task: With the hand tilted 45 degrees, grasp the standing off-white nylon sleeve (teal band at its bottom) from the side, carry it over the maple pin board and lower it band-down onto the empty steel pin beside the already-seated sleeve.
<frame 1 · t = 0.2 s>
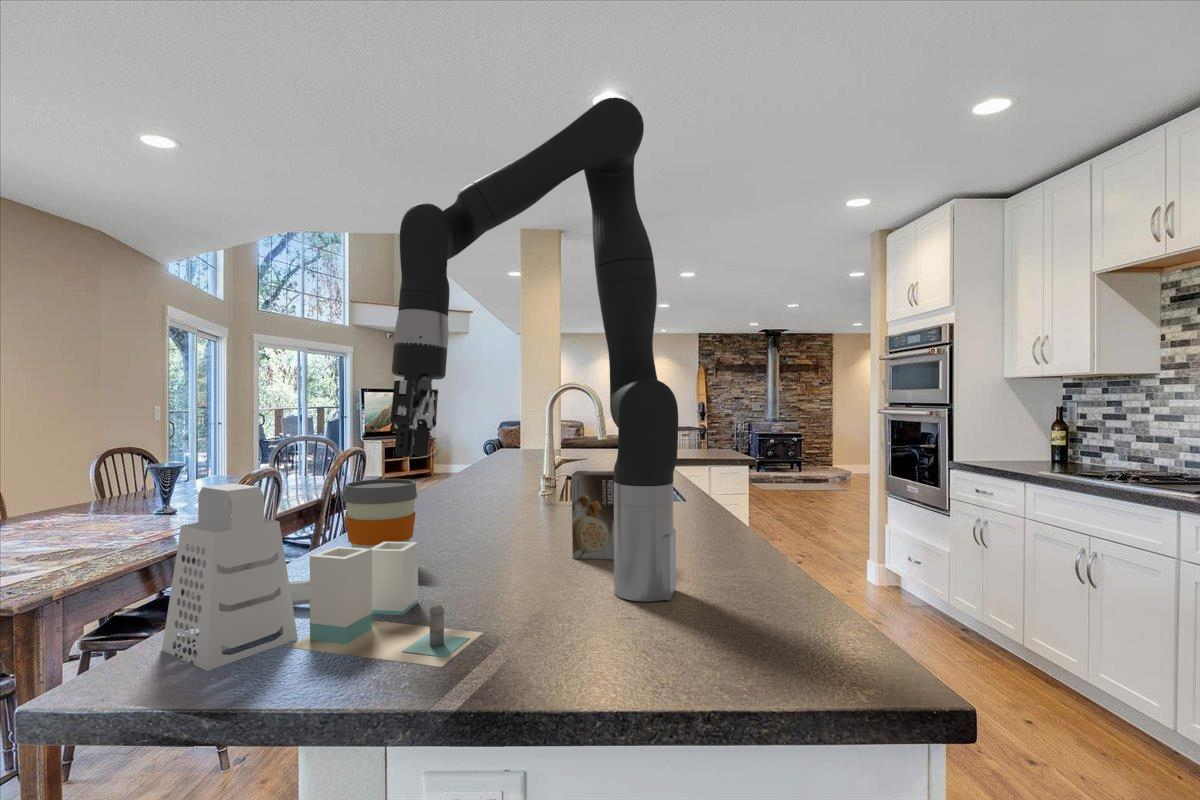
hand: (412, 456, 89), 22 cm above the countertop, tool pointing down, fingers open, 8 cm apart
reusable coffee cup: (381, 567, 112), on the countertop
coffee box: (597, 556, 119), on the countertop
electric toothbrush: (269, 620, 86), on the countertop
sleeve: (393, 618, 85), on the countertop
seated sleeve: (341, 634, 76), point 1 cm above the countertop, touching pin board
pin board: (388, 652, 74), on the countertop
grater: (231, 658, 73), on the countertop
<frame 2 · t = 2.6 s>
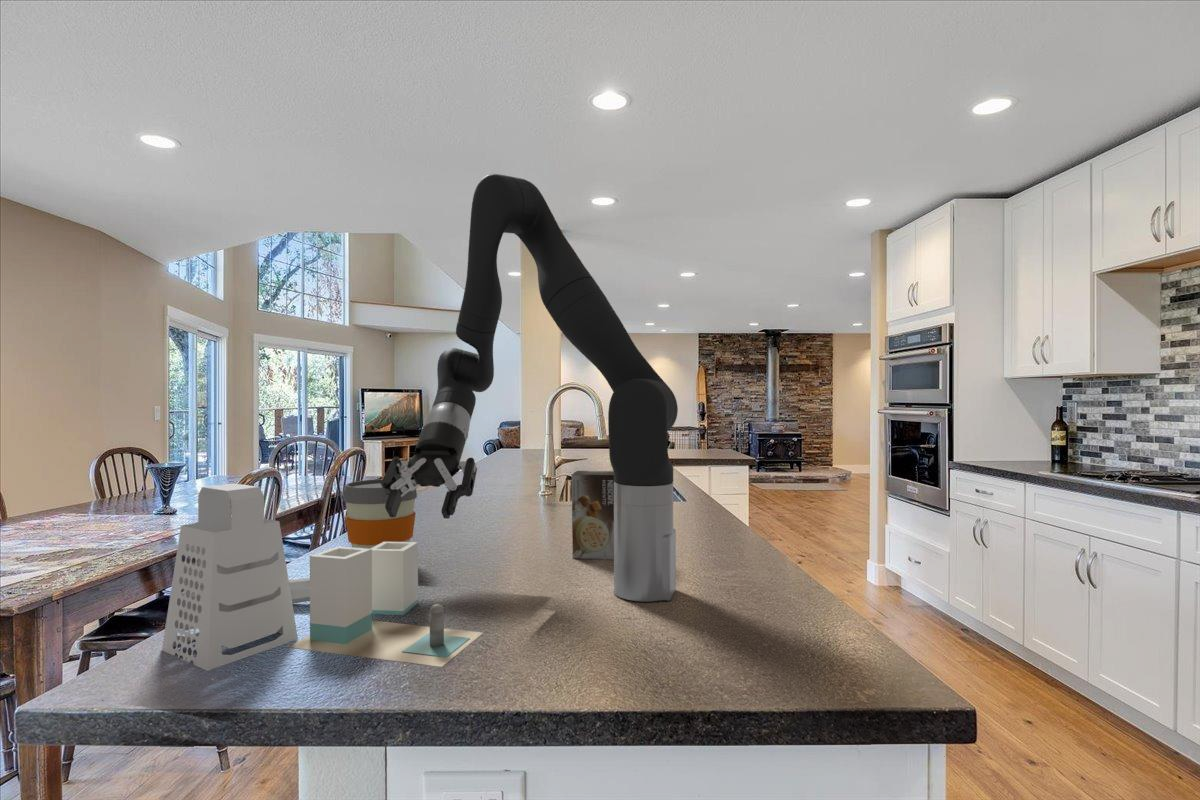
hand: (417, 515, 94), 13 cm above the countertop, tool tilted 45°, fingers open, 8 cm apart
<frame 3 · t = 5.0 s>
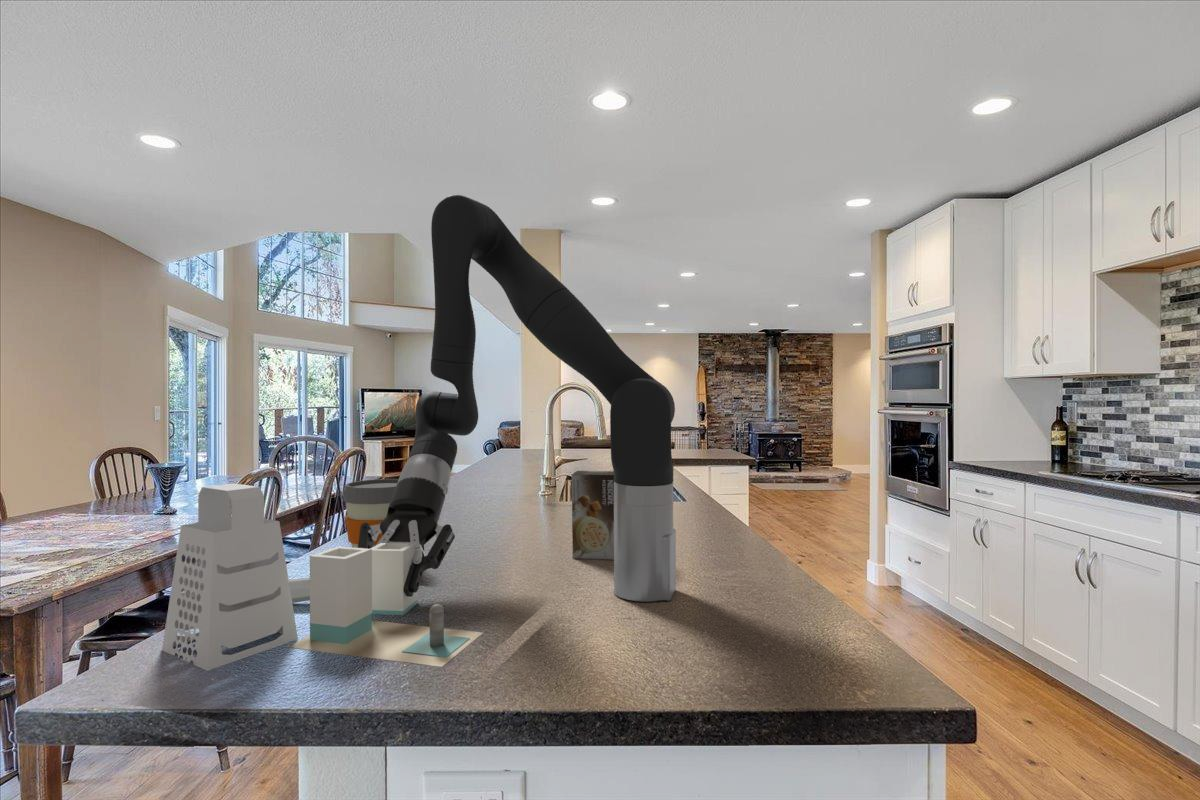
hand: (387, 592, 83), 4 cm above the countertop, tool tilted 45°, fingers closed on sleeve, 5 cm apart
sleeve: (393, 618, 85), on the countertop, touching gripper
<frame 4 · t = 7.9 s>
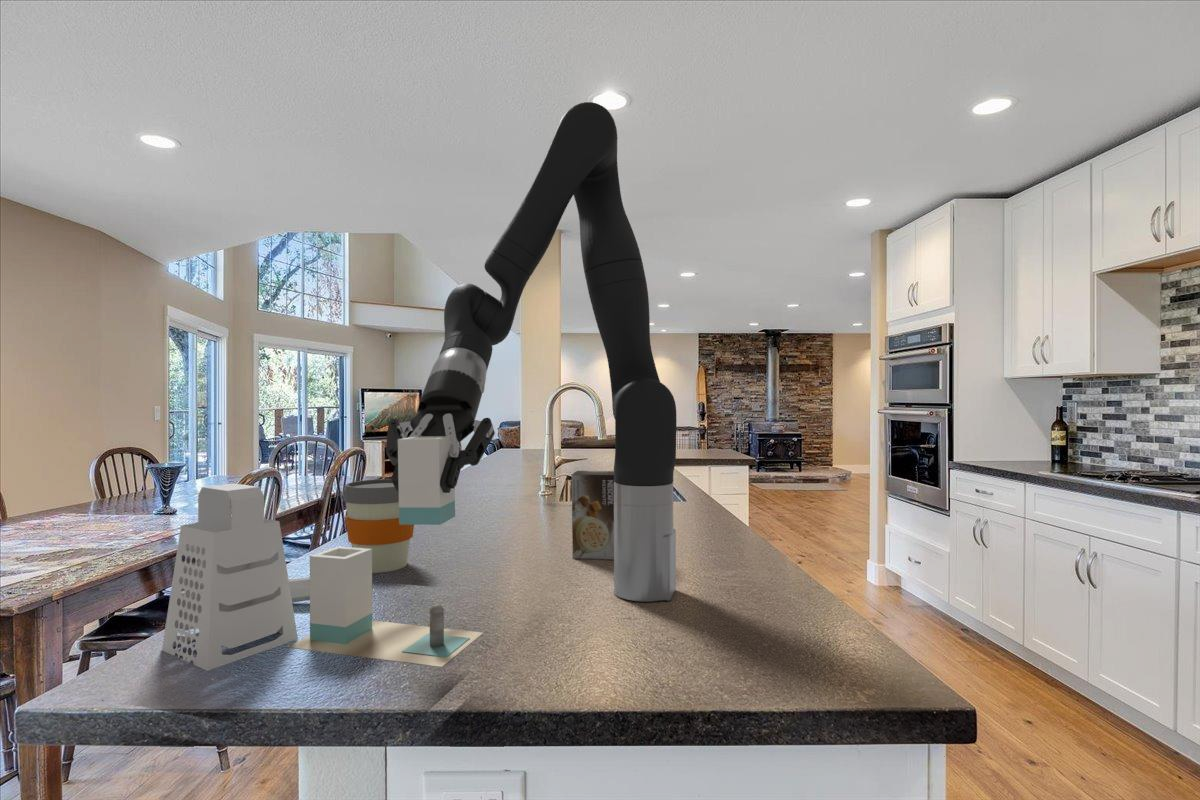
hand: (421, 488, 73), 20 cm above the countertop, tool tilted 45°, fingers closed on sleeve, 5 cm apart
sleeve: (428, 520, 75), point 16 cm above the countertop, touching gripper
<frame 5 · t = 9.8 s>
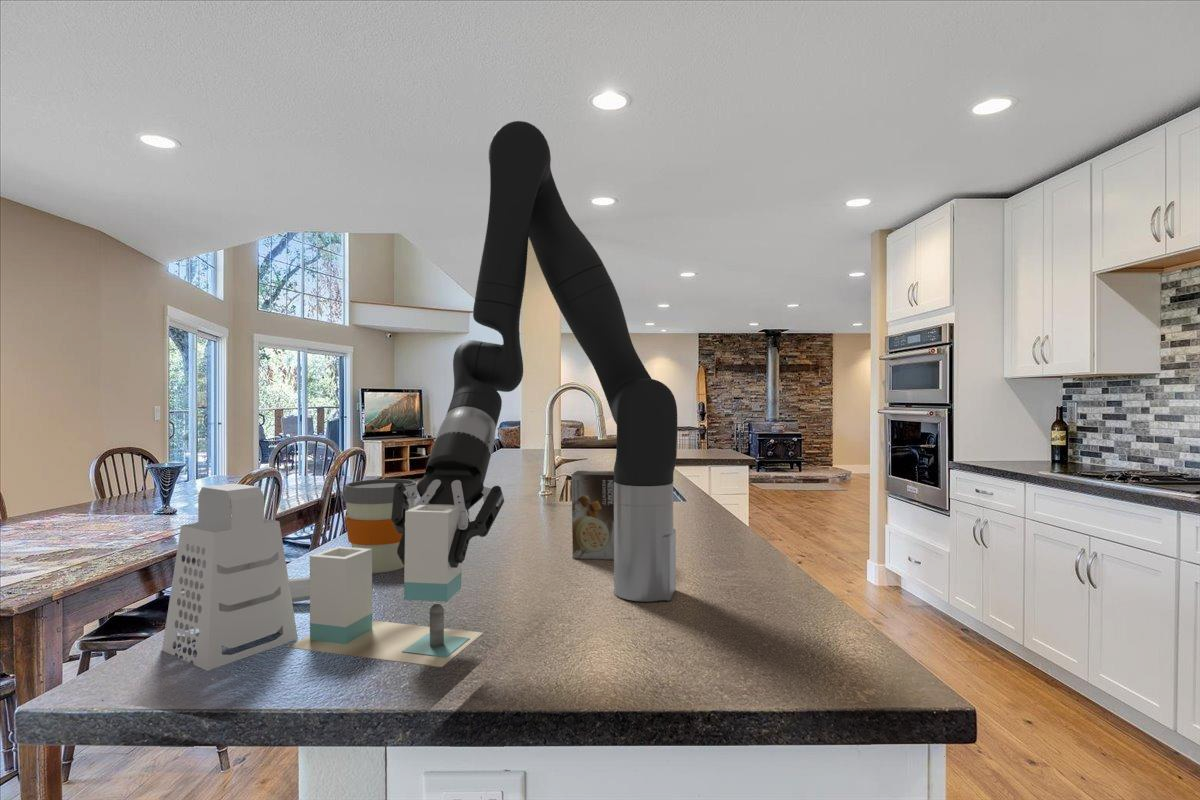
hand: (428, 562, 70), 12 cm above the countertop, tool tilted 45°, fingers closed on sleeve, 5 cm apart
sleeve: (433, 593, 72), point 8 cm above the countertop, touching gripper
everything else where it was.
when the fingers open (7 cm above the countertop, at t = 11.1 s): sleeve drops 1 cm, resting on pin board.
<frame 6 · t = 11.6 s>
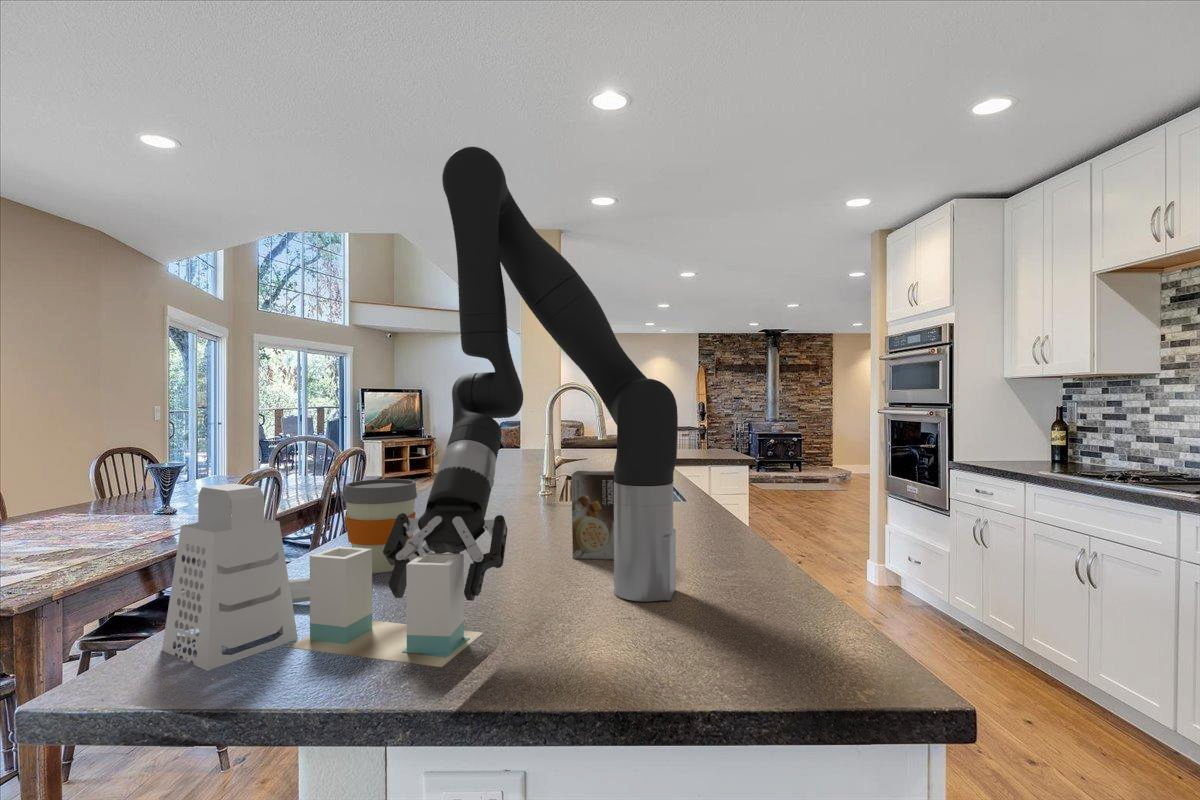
hand: (432, 596, 71), 8 cm above the countertop, tool tilted 45°, fingers open, 8 cm apart
sleeve: (436, 644, 72), point 2 cm above the countertop, touching pin board
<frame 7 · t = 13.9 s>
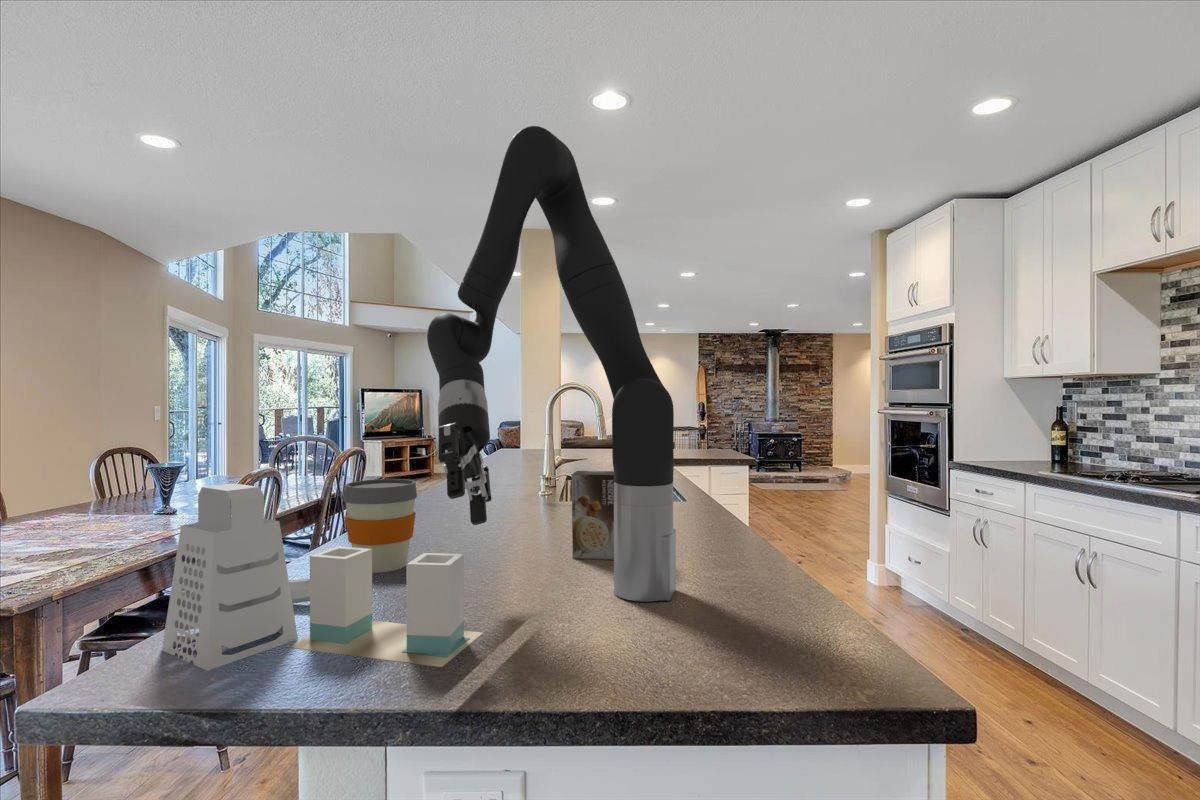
hand: (468, 510, 85), 15 cm above the countertop, tool tilted 40°, fingers open, 8 cm apart
nothing on the countertop moved.
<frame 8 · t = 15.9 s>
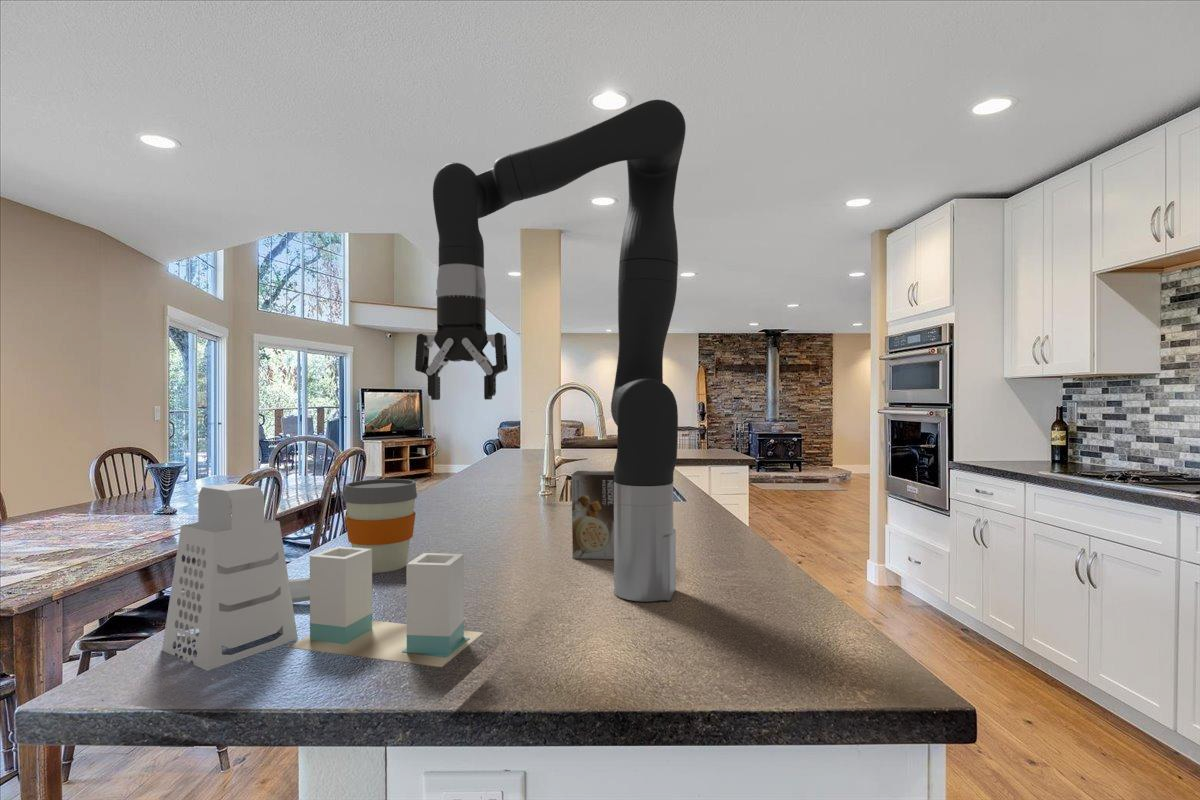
hand: (461, 399, 98), 30 cm above the countertop, tool pointing down, fingers open, 8 cm apart
at the end: sleeve 0.1 cm from the target spot on the pin board, point 1.6 cm above the pin board's base; sleeve tilted 0°; the gripper is holding nothing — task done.
